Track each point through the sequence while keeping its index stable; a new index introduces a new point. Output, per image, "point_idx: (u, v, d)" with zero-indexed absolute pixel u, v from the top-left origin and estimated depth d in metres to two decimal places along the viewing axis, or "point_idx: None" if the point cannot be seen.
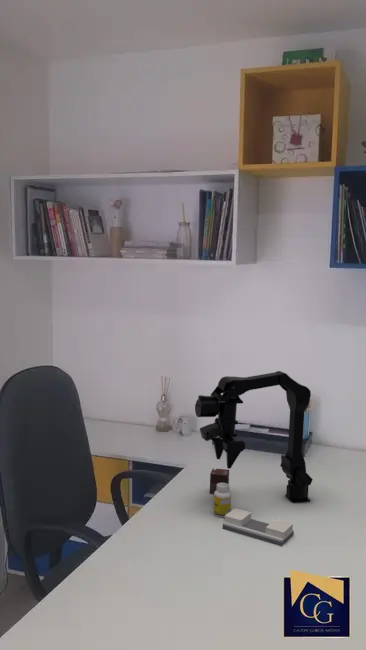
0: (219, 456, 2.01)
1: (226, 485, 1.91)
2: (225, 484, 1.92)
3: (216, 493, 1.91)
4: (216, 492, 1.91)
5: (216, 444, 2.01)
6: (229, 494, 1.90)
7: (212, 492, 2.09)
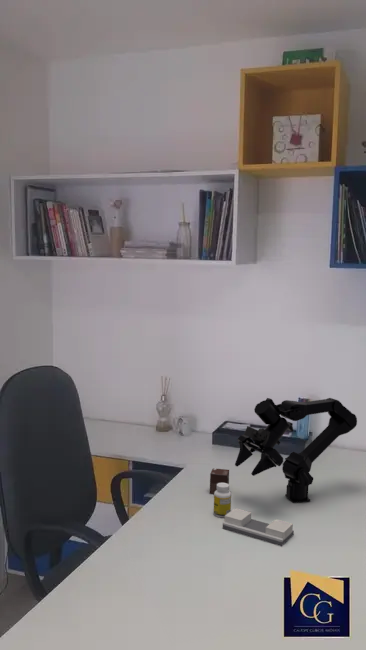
0: (238, 464, 1.99)
1: (226, 485, 1.91)
2: (225, 484, 1.92)
3: (216, 493, 1.91)
4: (216, 492, 1.91)
5: (243, 451, 2.00)
6: (229, 494, 1.90)
7: (212, 492, 2.09)
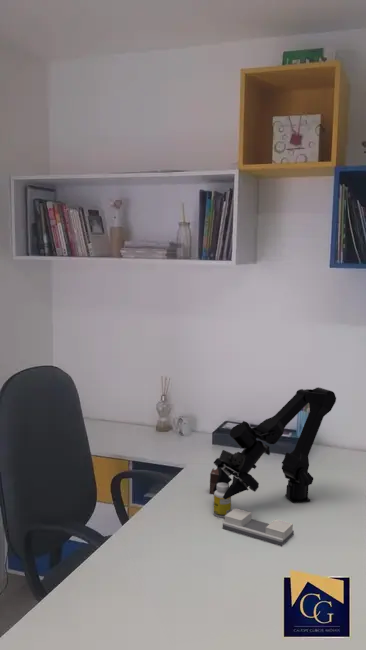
0: None
1: (226, 485, 1.91)
2: (225, 484, 1.92)
3: (216, 493, 1.91)
4: (216, 492, 1.91)
5: (221, 477, 1.95)
6: None
7: (212, 492, 2.09)
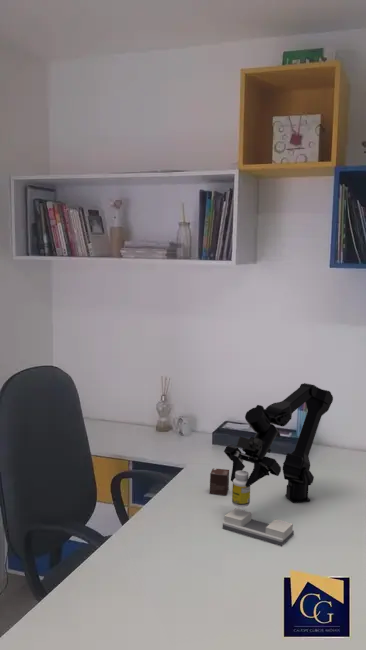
0: (233, 479, 1.86)
1: (245, 473, 1.84)
2: (244, 472, 1.84)
3: (236, 482, 1.82)
4: (236, 481, 1.83)
5: (237, 465, 1.87)
6: None
7: (212, 492, 2.09)
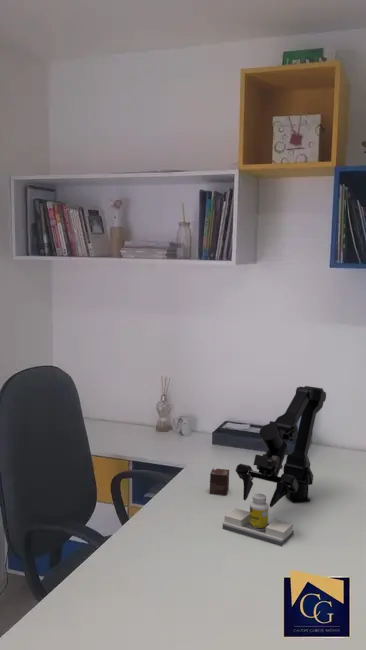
0: (246, 497, 1.82)
1: (263, 496, 1.80)
2: (261, 495, 1.81)
3: (256, 506, 1.78)
4: (255, 505, 1.79)
5: (248, 482, 1.83)
6: (267, 504, 1.80)
7: (212, 492, 2.09)
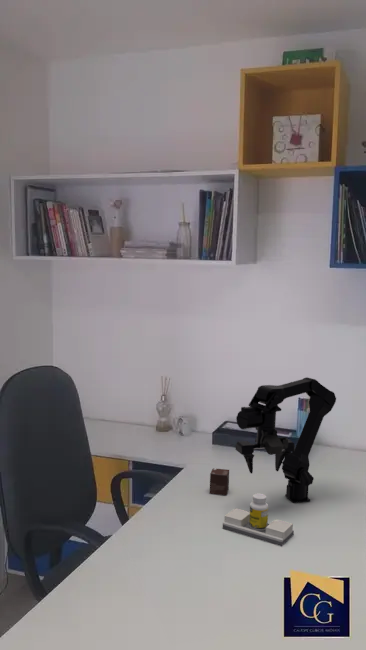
0: None
1: (263, 496, 1.80)
2: (261, 495, 1.81)
3: (256, 506, 1.78)
4: (255, 505, 1.79)
5: None
6: (267, 504, 1.80)
7: (212, 492, 2.09)
